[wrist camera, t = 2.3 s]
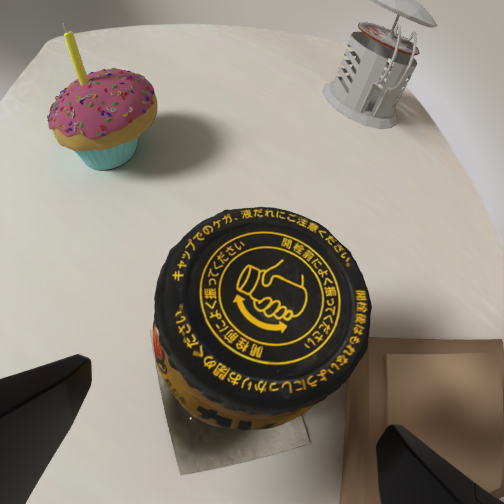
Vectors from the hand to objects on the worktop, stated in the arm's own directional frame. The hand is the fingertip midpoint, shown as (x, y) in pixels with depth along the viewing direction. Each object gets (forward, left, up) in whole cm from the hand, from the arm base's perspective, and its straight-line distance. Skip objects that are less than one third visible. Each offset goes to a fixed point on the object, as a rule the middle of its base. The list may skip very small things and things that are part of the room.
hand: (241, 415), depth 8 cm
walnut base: (-1, -13, -9) cm, 16 cm away
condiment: (+2, 0, -9) cm, 10 cm away
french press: (+33, -12, -9) cm, 36 cm away
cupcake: (+19, +12, -9) cm, 24 cm away
